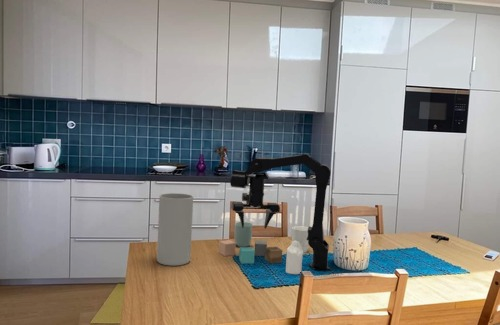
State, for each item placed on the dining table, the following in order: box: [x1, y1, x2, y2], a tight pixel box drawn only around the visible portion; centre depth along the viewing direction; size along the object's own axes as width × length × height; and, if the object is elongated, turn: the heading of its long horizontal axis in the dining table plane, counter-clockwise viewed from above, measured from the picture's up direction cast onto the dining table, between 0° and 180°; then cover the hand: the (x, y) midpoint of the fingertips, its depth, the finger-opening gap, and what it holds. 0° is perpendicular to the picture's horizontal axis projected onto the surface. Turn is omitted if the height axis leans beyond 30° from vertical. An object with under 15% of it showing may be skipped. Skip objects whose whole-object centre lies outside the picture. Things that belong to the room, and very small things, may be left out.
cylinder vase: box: [156, 192, 194, 267], centre depth 150 cm, size 12×12×25 cm
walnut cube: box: [264, 246, 283, 264], centre depth 158 cm, size 5×5×5 cm
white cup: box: [291, 225, 309, 254], centre depth 174 cm, size 8×8×10 cm
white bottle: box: [285, 241, 304, 275], centre depth 146 cm, size 6×12×6 cm
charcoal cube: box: [254, 240, 268, 257], centre depth 166 cm, size 5×5×5 cm
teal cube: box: [238, 246, 255, 265], centre depth 156 cm, size 5×5×5 cm
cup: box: [234, 221, 253, 248], centre depth 176 cm, size 8×8×10 cm
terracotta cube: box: [218, 239, 237, 257], centre depth 164 cm, size 5×5×5 cm
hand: (253, 228), depth 158 cm, fingers open, 9 cm apart
